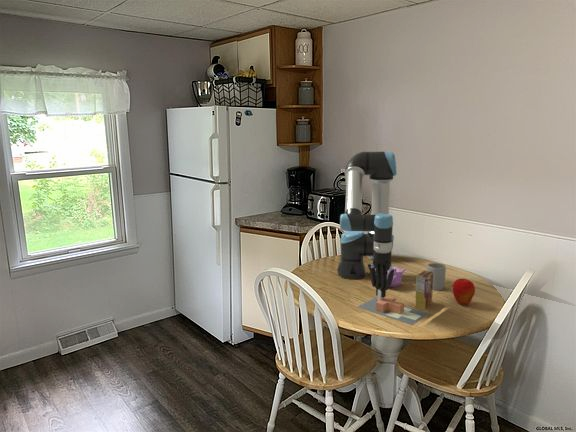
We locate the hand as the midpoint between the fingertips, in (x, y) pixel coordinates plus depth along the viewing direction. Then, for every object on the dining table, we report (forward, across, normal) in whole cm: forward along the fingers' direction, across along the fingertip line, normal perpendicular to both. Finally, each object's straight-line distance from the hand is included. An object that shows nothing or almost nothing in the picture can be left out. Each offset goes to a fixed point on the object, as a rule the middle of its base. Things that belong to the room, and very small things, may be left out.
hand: (380, 303), depth 193 cm
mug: (+3, +4, +41) cm, 42 cm away
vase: (+2, -43, +60) cm, 74 cm away
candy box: (+3, +13, +14) cm, 19 cm away
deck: (+2, +6, 0) cm, 6 cm away
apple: (+3, +24, +29) cm, 38 cm away
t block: (+1, +6, 0) cm, 6 cm away
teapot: (+3, -11, +26) cm, 29 cm away
